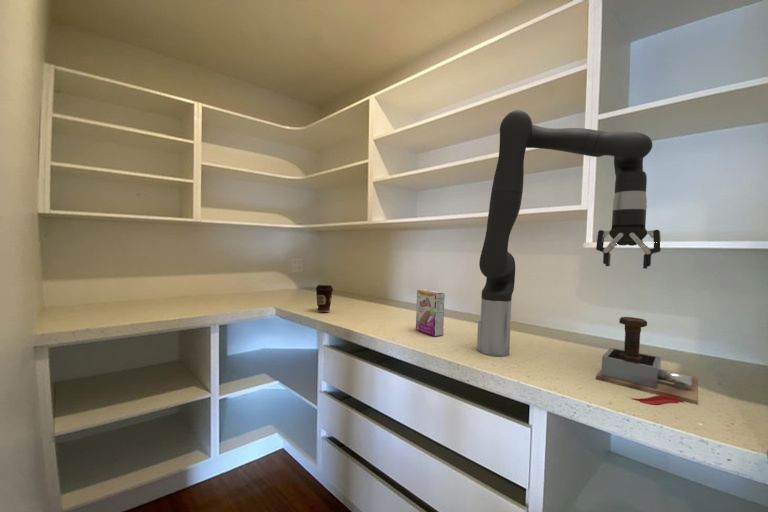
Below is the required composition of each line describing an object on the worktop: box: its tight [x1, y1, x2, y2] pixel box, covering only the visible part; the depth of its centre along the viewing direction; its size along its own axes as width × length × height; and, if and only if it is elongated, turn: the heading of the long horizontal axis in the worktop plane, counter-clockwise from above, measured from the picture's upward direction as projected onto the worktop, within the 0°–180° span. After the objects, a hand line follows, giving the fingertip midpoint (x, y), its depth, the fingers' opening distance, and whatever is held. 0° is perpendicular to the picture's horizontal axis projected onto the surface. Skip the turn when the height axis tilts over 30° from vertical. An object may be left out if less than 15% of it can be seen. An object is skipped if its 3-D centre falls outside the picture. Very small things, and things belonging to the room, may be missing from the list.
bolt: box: [619, 316, 648, 364], centre depth 85 cm, size 6×5×15 cm
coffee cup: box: [315, 284, 334, 313], centre depth 164 cm, size 9×8×13 cm
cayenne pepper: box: [630, 395, 686, 406], centre depth 72 cm, size 12×5×2 cm, turn 73°
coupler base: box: [595, 368, 698, 406], centre depth 85 cm, size 19×20×1 cm
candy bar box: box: [415, 288, 446, 337], centre depth 127 cm, size 11×5×16 cm, turn 34°
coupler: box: [601, 347, 693, 391], centre depth 85 cm, size 17×18×5 cm
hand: (625, 267), depth 91 cm, fingers open, 8 cm apart
